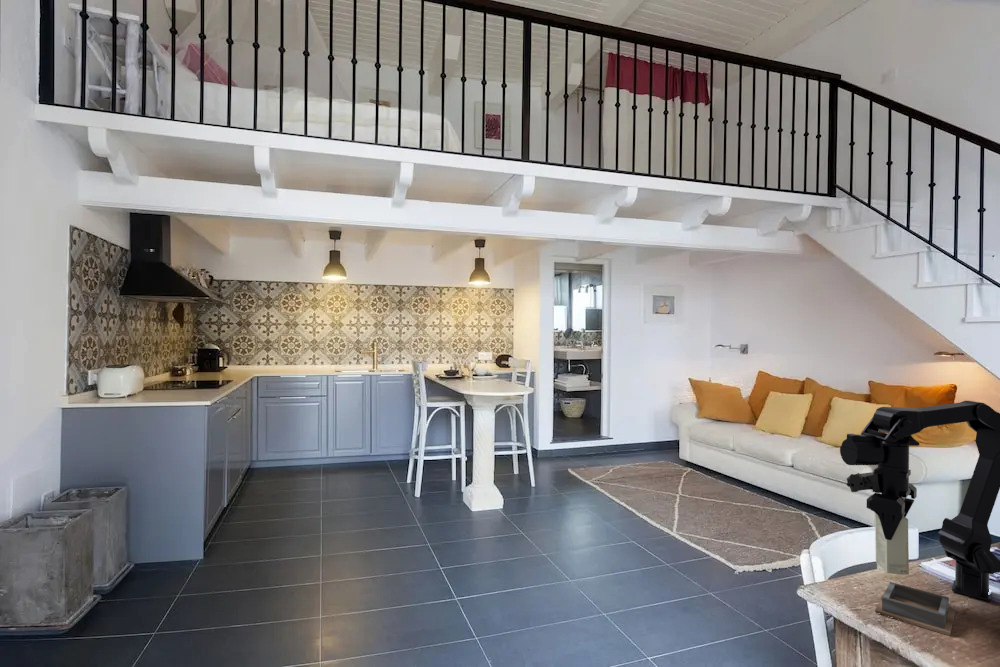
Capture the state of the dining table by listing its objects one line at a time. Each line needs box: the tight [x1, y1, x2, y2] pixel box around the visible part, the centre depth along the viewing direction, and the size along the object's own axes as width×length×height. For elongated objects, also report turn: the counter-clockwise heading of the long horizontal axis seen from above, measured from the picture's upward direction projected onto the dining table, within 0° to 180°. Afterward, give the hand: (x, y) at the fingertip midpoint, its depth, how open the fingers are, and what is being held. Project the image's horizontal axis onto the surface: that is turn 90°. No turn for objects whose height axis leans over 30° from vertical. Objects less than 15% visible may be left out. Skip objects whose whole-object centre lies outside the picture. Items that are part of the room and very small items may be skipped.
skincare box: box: [874, 512, 910, 576], centre depth 121 cm, size 6×4×12 cm
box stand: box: [874, 581, 956, 637], centre depth 113 cm, size 12×12×3 cm
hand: (891, 534), depth 121 cm, fingers closed on skincare box, 7 cm apart
